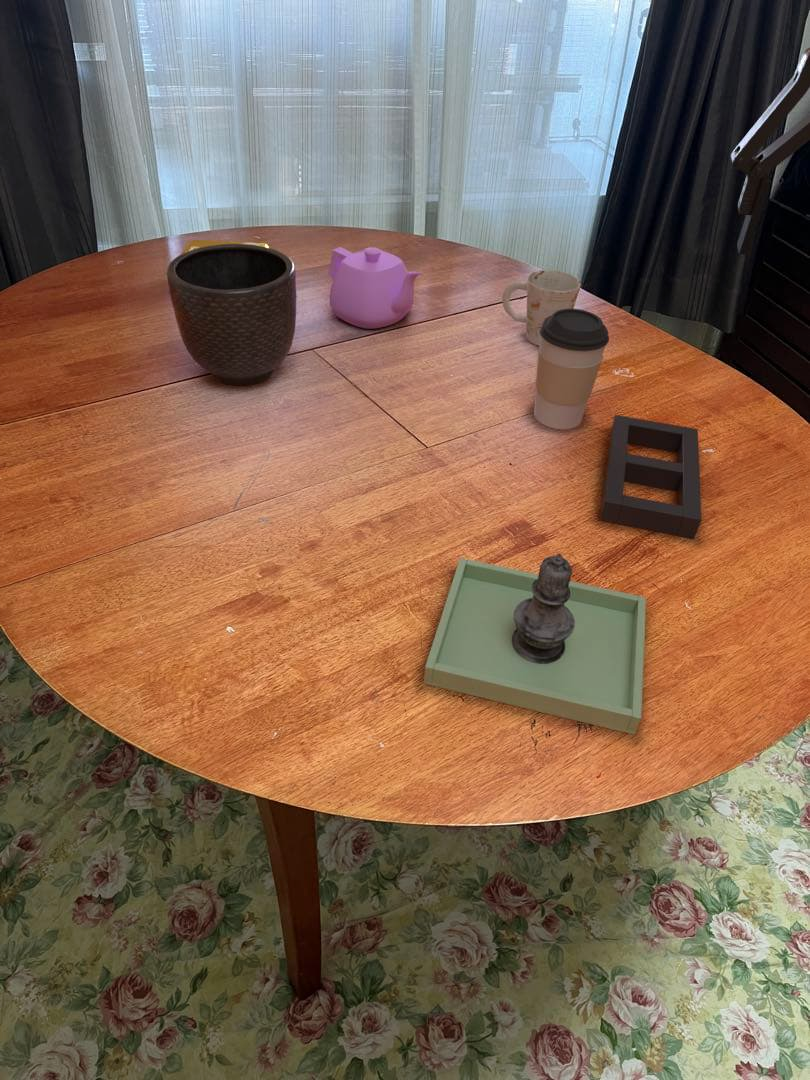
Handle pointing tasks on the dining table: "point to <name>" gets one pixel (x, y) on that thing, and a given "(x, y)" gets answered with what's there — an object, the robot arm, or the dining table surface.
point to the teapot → (370, 287)
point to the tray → (555, 688)
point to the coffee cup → (568, 366)
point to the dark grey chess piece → (545, 614)
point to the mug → (543, 298)
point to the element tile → (203, 243)
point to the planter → (235, 309)
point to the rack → (653, 477)
